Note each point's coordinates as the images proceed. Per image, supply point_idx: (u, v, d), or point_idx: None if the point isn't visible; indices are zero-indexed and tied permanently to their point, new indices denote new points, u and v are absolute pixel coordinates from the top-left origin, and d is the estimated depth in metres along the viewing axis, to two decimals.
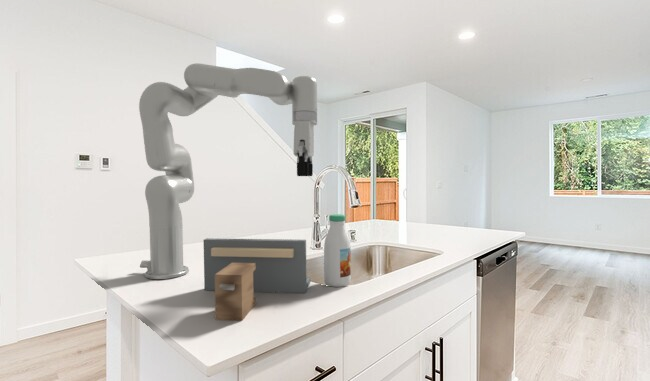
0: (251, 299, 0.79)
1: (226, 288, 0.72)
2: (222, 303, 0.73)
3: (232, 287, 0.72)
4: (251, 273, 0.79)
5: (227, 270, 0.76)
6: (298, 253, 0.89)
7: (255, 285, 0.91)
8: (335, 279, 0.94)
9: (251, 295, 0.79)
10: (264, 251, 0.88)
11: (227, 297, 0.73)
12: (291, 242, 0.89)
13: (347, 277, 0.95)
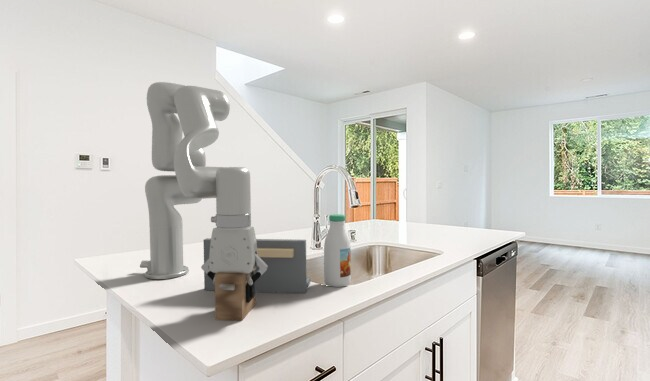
0: None
1: (226, 288, 0.72)
2: (222, 303, 0.73)
3: (231, 287, 0.72)
4: None
5: None
6: (298, 253, 0.89)
7: (255, 285, 0.91)
8: (335, 279, 0.94)
9: None
10: (264, 251, 0.88)
11: (227, 297, 0.73)
12: (291, 242, 0.89)
13: (347, 277, 0.95)
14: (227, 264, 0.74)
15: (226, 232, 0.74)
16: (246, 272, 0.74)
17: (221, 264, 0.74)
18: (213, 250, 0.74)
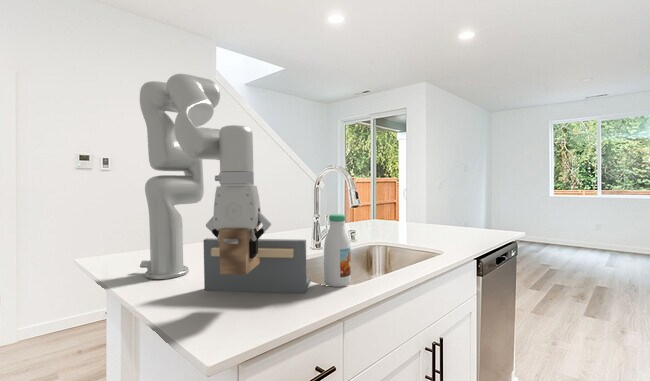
0: (255, 257, 0.81)
1: (230, 242, 0.73)
2: (226, 258, 0.75)
3: (235, 241, 0.73)
4: None
5: None
6: (298, 253, 0.89)
7: (255, 285, 0.91)
8: (335, 279, 0.94)
9: None
10: (264, 251, 0.88)
11: (231, 251, 0.75)
12: (291, 242, 0.89)
13: (347, 277, 0.95)
14: (231, 220, 0.76)
15: (230, 189, 0.75)
16: (249, 227, 0.75)
17: (225, 220, 0.76)
18: (217, 207, 0.76)
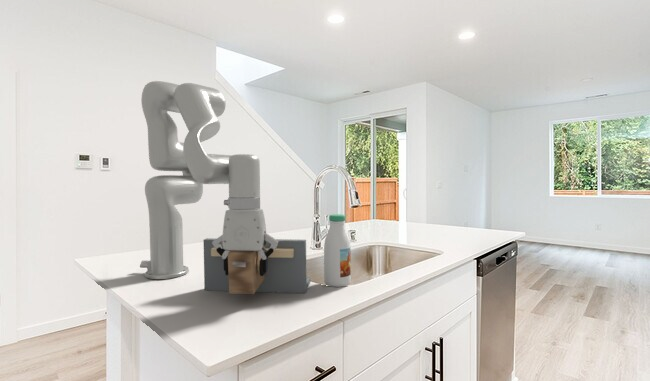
0: None
1: (238, 265, 0.79)
2: (235, 279, 0.81)
3: (243, 265, 0.79)
4: None
5: None
6: (298, 253, 0.89)
7: None
8: (335, 279, 0.94)
9: None
10: None
11: (239, 273, 0.80)
12: (291, 242, 0.89)
13: (347, 277, 0.95)
14: (239, 242, 0.81)
15: (238, 213, 0.81)
16: (256, 250, 0.81)
17: (233, 242, 0.81)
18: (226, 230, 0.81)
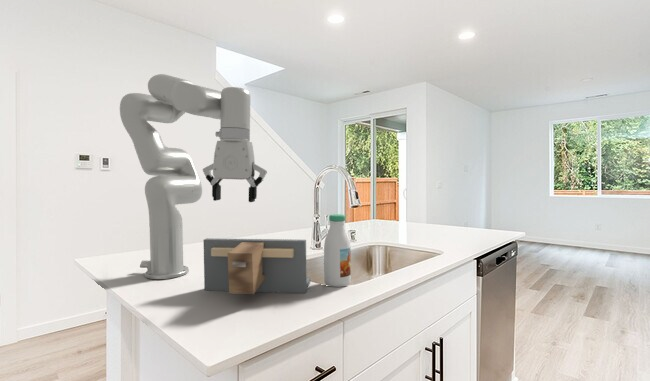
0: (260, 275, 0.87)
1: (238, 265, 0.79)
2: (235, 279, 0.81)
3: (243, 265, 0.79)
4: (260, 251, 0.86)
5: (238, 249, 0.83)
6: (298, 253, 0.89)
7: None
8: (335, 279, 0.94)
9: (260, 271, 0.86)
10: (264, 251, 0.88)
11: (239, 273, 0.80)
12: (291, 242, 0.89)
13: (347, 277, 0.95)
14: (228, 170, 0.87)
15: (228, 143, 0.86)
16: (244, 178, 0.86)
17: (223, 170, 0.87)
18: (216, 158, 0.87)
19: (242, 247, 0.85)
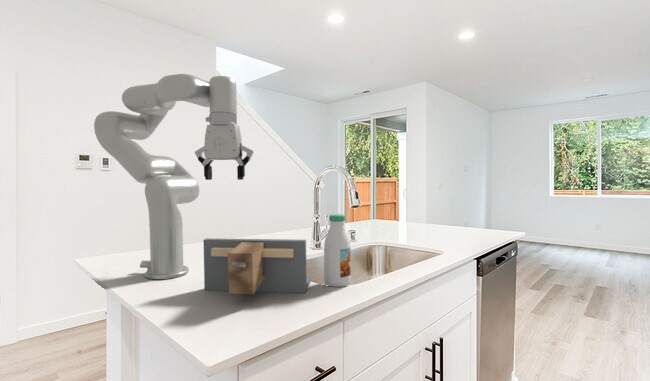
0: (260, 275, 0.87)
1: (238, 265, 0.79)
2: (235, 279, 0.81)
3: (243, 265, 0.79)
4: (260, 251, 0.86)
5: (238, 249, 0.83)
6: (298, 253, 0.89)
7: None
8: (335, 279, 0.94)
9: (260, 271, 0.86)
10: (264, 251, 0.88)
11: (239, 273, 0.80)
12: (291, 242, 0.89)
13: (347, 277, 0.95)
14: (218, 151, 0.96)
15: (217, 126, 0.95)
16: (232, 157, 0.95)
17: (213, 151, 0.96)
18: (207, 141, 0.96)
19: (242, 247, 0.85)
